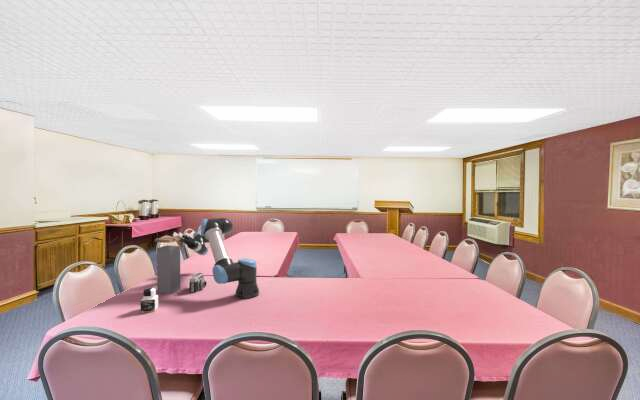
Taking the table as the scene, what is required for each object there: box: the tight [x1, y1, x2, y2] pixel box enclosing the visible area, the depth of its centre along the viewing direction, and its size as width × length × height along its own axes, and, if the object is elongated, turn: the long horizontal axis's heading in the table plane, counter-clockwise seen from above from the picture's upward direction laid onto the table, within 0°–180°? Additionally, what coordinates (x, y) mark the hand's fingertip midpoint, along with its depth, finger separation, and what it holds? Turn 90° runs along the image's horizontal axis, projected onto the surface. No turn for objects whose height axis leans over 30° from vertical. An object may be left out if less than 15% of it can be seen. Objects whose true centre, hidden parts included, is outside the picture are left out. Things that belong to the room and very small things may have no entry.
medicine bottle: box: [140, 287, 159, 314], centre depth 163 cm, size 7×7×12 cm
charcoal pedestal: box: [156, 244, 181, 295], centre depth 194 cm, size 10×10×30 cm
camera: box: [188, 272, 207, 294], centre depth 198 cm, size 14×8×10 cm, turn 0°
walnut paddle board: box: [154, 235, 182, 244], centre depth 198 cm, size 21×11×2 cm, turn 169°
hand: (176, 233), depth 202 cm, fingers closed on walnut paddle board, 3 cm apart
